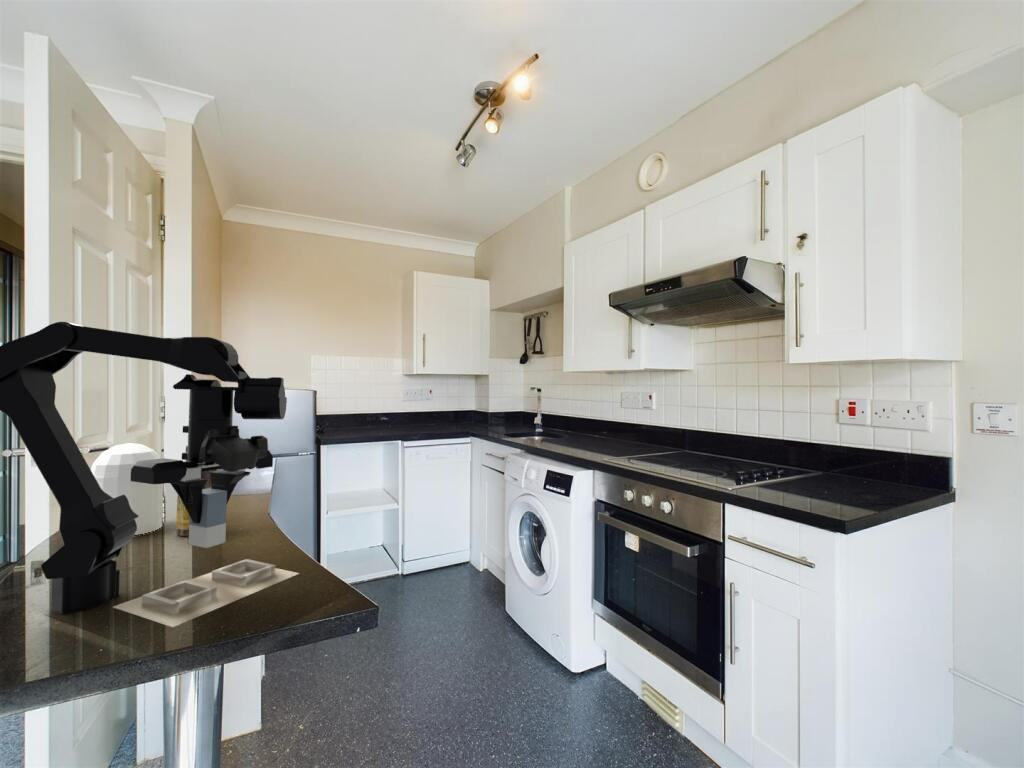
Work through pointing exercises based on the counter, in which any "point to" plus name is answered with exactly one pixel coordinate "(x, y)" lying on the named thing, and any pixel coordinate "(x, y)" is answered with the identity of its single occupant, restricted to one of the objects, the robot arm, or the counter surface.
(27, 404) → the robot arm
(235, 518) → the counter surface
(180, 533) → the sauce bottle
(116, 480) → the container
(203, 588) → the socket dock
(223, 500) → the plug
